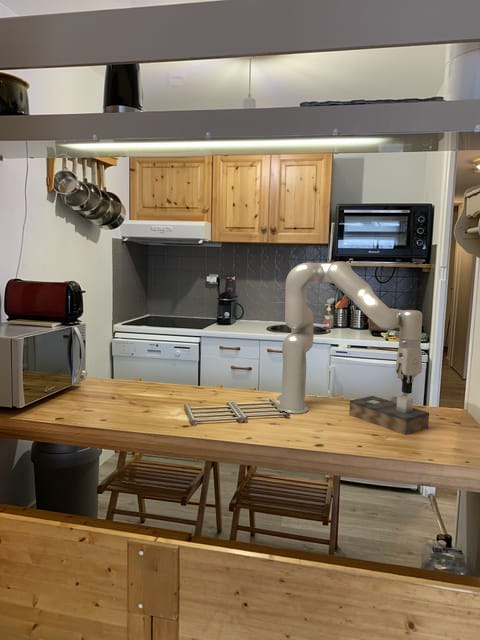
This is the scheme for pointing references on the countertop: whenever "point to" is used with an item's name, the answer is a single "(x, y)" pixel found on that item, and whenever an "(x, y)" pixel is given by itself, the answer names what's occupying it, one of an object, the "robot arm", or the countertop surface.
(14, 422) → the countertop surface
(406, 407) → the peg
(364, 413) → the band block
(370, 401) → the peg
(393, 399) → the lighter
